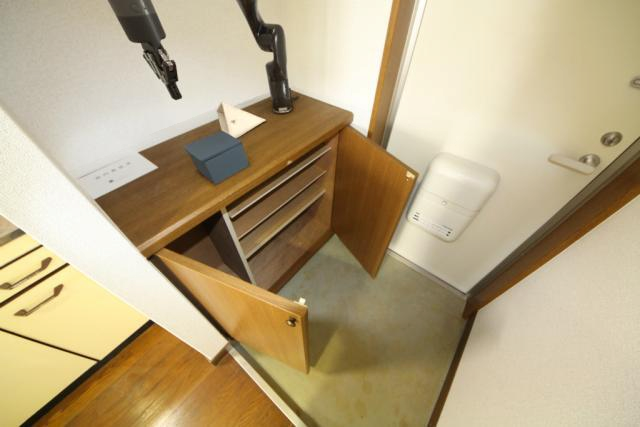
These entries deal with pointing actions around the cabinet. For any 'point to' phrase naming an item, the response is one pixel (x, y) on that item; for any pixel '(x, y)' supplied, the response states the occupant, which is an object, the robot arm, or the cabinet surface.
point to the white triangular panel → (236, 120)
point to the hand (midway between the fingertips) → (177, 98)
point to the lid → (211, 146)
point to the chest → (222, 164)
